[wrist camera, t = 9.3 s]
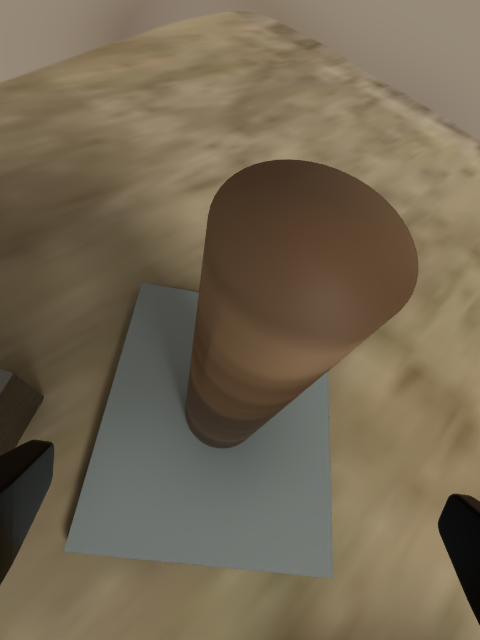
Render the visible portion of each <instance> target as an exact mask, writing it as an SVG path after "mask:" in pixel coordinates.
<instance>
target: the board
mask: <svg viewBox="0 0 480 640" xmlns="http://www.w3.org/2000/svg"><path fill="white" fill-rule="evenodd" d="M198 296H199V292H194V291H188V290H183V289H177V288H172V287H166V286H161V285H155V284H149V283H144V282H142V284H141V288H140V291H139V295H138V298H137V301H136V305H135V308H134V312H133V315H132V319H131V322H130V325H129V329H128V332H127V336H126V339H125V343H124V346H123V350H122V353H121V356H120V360H119V363H118V367H117V370H116V374H115V377H114V381H113V384H112V387H111V391H110V394H109V398H108V401H107V405H106V408H105V411H104V415H103V418H102V422H101V425H100V429H99V432H98V436H97V439H96V442H95V446H94V449H93V453H92V456H91V460H90V463H89V466H88V470H87V473H86V477H85V480H84V484H83V487H82V491H81V494H80V497H79V501H78V504H77V508H76V511H75V515H74V518H73V522H72V525H71V528H70V532H69V535H68V539H67V542H66V546H65V549H64V552H71V553H82V554H92V555H102V556H112V557H122V558H132V559H143V560H153V561H163V562H173V563H183V564H193V565H204V566H214V567H224V568H234V569H244V570H254V571H265V572H275V573H285V574H295V575H305V576H315V577H326V578H333V564H332V521H331V478H330V435H329V392H328V372H326V373H325V374H324V375H323V376H322V377H320V378H319V379H318V380H317V381H316V382H314V383H313V384H312V385H311V386H310V387H308V388H307V389H306V390H305V391H304V392H303V393H301V394H300V395H299V396H298V397H297V398H295V399H294V400H293V401H292V402H291V403H289V404H288V405H287V406H286V407H285V408H283V409H282V410H281V411H280V412H279V413H277V414H276V415H275V416H274V417H273V418H271V419H270V420H269V421H268V422H267V423H266V424H264V425H263V426H262V427H261V428H260V429H258V430H257V431H256V432H255V433H254V434H252V435H251V436H250V437H249V438H248V439H246V440H245V441H244V442H242V443H241V444H239V445H237V446H235V447H231V448H214V447H211V446H208V445H206V444H204V443H203V442H201V441H200V440H199V439H197V438H196V437H195V436H194V434H193V433H192V432H191V430H190V428H189V426H188V424H187V421H186V416H185V405H186V397H187V388H188V380H189V372H190V363H191V355H192V347H193V338H194V330H195V322H196V313H197V305H198Z"/></svg>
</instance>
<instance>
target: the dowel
mask: <svg viewBox="0 0 480 640" xmlns="http://www.w3.org/2000/svg"><path fill="white" fill-rule="evenodd" d="M417 276H418V258H417V251H416V248H415V244H414V241H413V239H412V236H411V234H410V232H409V230H408V228H407V226H406V225H405V223H404V221H403V220H402V218H401V217H400V216H399V214H398V213H397V212H396V210H395V209H394V208H393V207H392V206H391V205H390V204H389V203H388V202H387V201H386V200H385V199H384V198H383V197H382V196H381V195H380V194H378V193H377V192H376V191H375V190H373V189H372V188H371V187H369V186H368V185H366V184H365V183H363V182H362V181H360V180H358V179H357V178H355V177H353V176H351V175H349V174H347V173H345V172H342V171H340V170H338V169H335V168H332V167H329V166H326V165H323V164H318V163H314V162H309V161H302V160H273V161H266V162H262V163H258V164H255V165H252V166H250V167H247V168H245V169H243V170H241V171H239V172H237V173H236V174H234V175H233V176H232V177H230V178H229V179H228V180H227V181H226V182H225V183H224V184H223V185H222V186H221V187H220V189H219V190H218V192H217V193H216V195H215V196H214V199H213V201H212V203H211V206H210V210H209V215H208V221H207V230H206V238H205V246H204V255H203V263H202V271H201V280H200V288H199V296H198V305H197V313H196V322H195V330H194V338H193V347H192V355H191V363H190V372H189V380H188V388H187V397H186V405H185V416H186V421H187V424H188V426H189V428H190V430H191V432H192V433H193V434H194V436H195V437H196V438H197V439H199V440H200V441H201V442H203V443H204V444H206V445H208V446H211V447H214V448H231V447H235V446H237V445H239V444H241V443H242V442H244V441H245V440H246V439H248V438H249V437H250V436H251V435H252V434H254V433H255V432H256V431H257V430H258V429H260V428H261V427H262V426H263V425H264V424H266V423H267V422H268V421H269V420H270V419H271V418H273V417H274V416H275V415H276V414H277V413H279V412H280V411H281V410H282V409H283V408H285V407H286V406H287V405H288V404H289V403H291V402H292V401H293V400H294V399H295V398H297V397H298V396H299V395H300V394H301V393H303V392H304V391H305V390H306V389H307V388H308V387H310V386H311V385H312V384H313V383H314V382H316V381H317V380H318V379H319V378H320V377H322V376H323V375H324V374H325V373H326V372H328V371H329V370H330V369H331V368H332V367H334V366H335V365H336V364H337V363H338V362H339V361H341V360H342V359H343V358H344V357H345V356H347V355H348V354H349V353H350V352H351V351H353V350H354V349H355V348H356V347H357V346H359V345H360V344H361V343H362V342H363V341H365V340H366V339H367V338H368V337H369V336H371V335H372V334H373V333H374V332H375V331H376V330H378V329H379V328H380V327H381V326H382V325H384V324H385V323H386V322H387V321H388V320H390V319H391V318H392V317H393V316H394V315H396V314H397V313H398V312H399V311H400V310H401V309H402V308H403V307H404V306H405V304H406V303H407V302H408V300H409V299H410V297H411V295H412V293H413V291H414V288H415V285H416V282H417Z"/></svg>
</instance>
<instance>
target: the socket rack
mask: <svg viewBox="0 0 480 640" xmlns="http://www.w3.org/2000/svg"><path fill="white" fill-rule="evenodd" d="M43 399H44V397H42V396H41V395H40V394H39V393H37V392H36V391H35V390H34V389H33V388H31V387H30V386H29V385H28V384H26V383H25V382H24V381H23V380H22V379H20V378H19V377H18V376H17V375H15V374H14V373H12V372H9V371H6V370H3V369H0V455H2V454H4V453H6V452H8V451H10V450H12V449H14V448H15V446H16V445H17V443H18V441H19V440H20V438H21V436H22V434H23V433H24V431H25V429H26V428H27V426H28V424H29V423H30V421H31V419H32V417H33V416H34V414H35V412H36V411H37V409H38V407H39V405H40V404H41V402H42V400H43Z"/></svg>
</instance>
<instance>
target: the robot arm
mask: <svg viewBox="0 0 480 640" xmlns="http://www.w3.org/2000/svg"><path fill="white" fill-rule="evenodd" d="M53 462H54V445H53V443H52V442H49V441H42V440H31V441H28V442H26V443H24V444H22V445H20V446H18V447H16V448H14V449H12V450H10V451H8V452H6V453H4V454H2V455H0V584H1V583H2V581H3V579H4V578H5V576H6V574H7V572H8V571H9V569H10V567H11V565H12V564H13V562H14V560H15V558H16V556H17V554H18V552H19V550H20V547H21V545H22V543H23V541H24V539H25V537H26V535H27V533H28V531H29V529H30V526H31V524H32V522H33V520H34V518H35V516H36V514H37V512H38V510H39V508H40V505H41V503H42V501H43V499H44V497H45V495H46V493H47V491H48V489H49V486H50V484H51V481H52V476H53ZM438 529H439V533H440V535H441V538H442V540H443V542H444V545H445V547H446V550H447V552H448V554H449V557H450V559H451V562H452V564H453V566H454V569H455V571H456V574H457V576H458V578H459V581H460V583H461V586H462V588H463V590H464V593H465V595H466V597H467V600H468V602H469V604H470V606H471V609H472V611H473V613H474V615H475V617H476V619H477V621H478V623H479V625H480V501H478V500H477V499H475V498H473V497H472V496H469V495H462V494H452V495H450V496H449V497H448V499H447V502H446V504H445V506H444V509H443V511H442V513H441V515H440V518H439V521H438Z"/></svg>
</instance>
